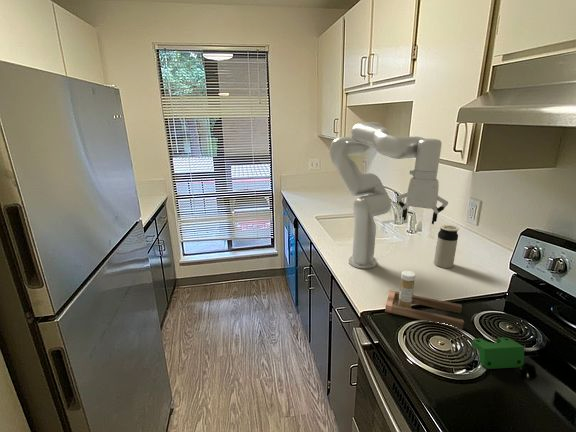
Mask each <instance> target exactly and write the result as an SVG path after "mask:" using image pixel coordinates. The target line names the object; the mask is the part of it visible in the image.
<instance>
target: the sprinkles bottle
mask: <svg viewBox="0 0 576 432" xmlns="http://www.w3.org/2000/svg"><path fill="white" fill-rule="evenodd" d="M416 275H417V274H416V273H415V272H414V271H411V270H403V271H401V275H400V278H401V280H400V288H399V292H400V293H399V300H398V304H397V306H402V307H407V308H411V309H412V303H411V302H412V297H413V295H414V290H415V289H414V287H415V280H416V277H417V276H416Z"/></svg>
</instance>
